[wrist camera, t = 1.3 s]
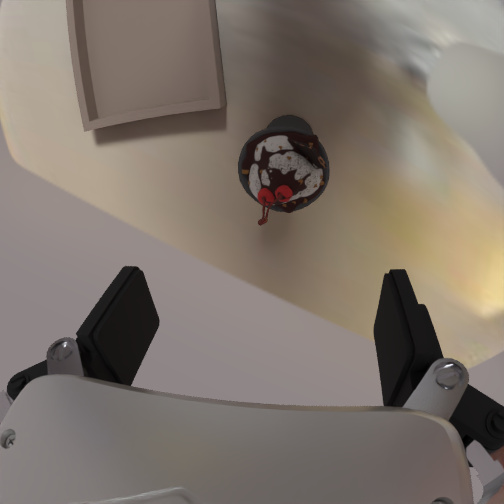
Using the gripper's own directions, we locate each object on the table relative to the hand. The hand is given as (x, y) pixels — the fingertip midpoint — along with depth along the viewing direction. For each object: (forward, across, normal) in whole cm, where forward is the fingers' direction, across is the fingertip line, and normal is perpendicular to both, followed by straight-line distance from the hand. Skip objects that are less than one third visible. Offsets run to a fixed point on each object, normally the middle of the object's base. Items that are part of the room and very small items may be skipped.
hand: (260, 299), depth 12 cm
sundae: (+24, 0, -1) cm, 24 cm away
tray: (+23, +14, -15) cm, 31 cm away
